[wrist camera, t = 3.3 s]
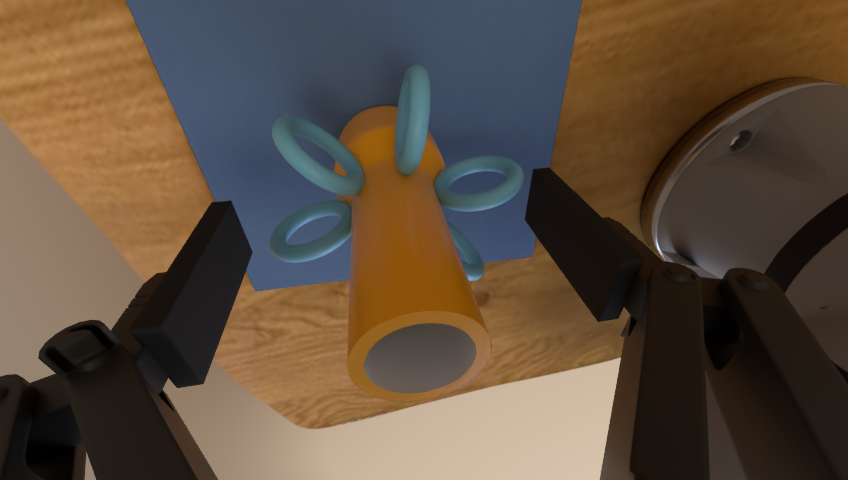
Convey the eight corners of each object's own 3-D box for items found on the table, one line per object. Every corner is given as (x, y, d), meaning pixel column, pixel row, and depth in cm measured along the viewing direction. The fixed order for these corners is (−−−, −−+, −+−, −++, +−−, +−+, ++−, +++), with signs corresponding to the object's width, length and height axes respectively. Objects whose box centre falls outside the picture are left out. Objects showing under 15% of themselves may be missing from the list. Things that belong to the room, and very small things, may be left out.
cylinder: (510, 150, 23) (679, 332, 11) (406, 252, 26) (445, 473, 14) (357, -4, 17) (354, 19, 5) (250, 155, 20) (95, 394, 8)
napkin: (591, -65, 17) (594, -65, 17) (530, 254, 29) (532, 256, 29) (106, -51, 15) (102, -52, 15) (256, 288, 27) (255, 291, 26)
